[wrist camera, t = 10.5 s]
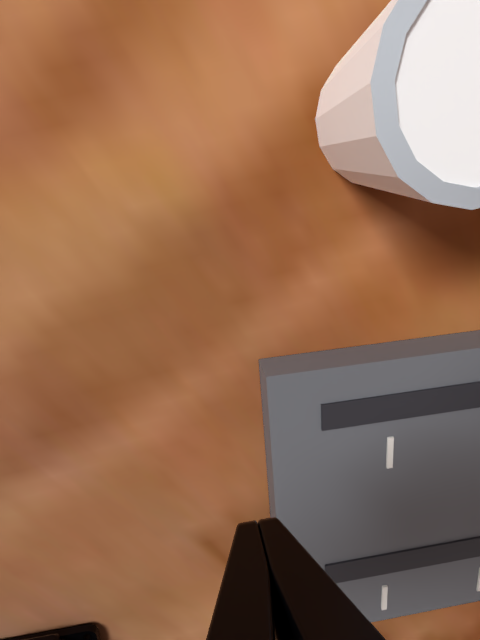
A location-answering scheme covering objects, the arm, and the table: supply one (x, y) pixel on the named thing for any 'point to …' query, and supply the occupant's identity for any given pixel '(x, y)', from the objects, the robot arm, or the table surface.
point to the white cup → (409, 104)
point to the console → (381, 467)
